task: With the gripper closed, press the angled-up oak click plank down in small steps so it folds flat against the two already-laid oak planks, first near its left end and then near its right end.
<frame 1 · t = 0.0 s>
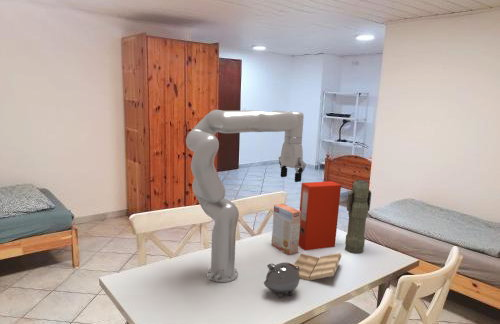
hand: (290, 179, 160), 37 cm above the table, tool pointing down, fingers open, 9 cm apart
file binder: (315, 246, 182), on the table
laid planks: (314, 270, 157), on the table
click plank: (326, 265, 154), point 3 cm above the table, hinge at 25.0°
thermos: (353, 250, 179), on the table
piggy bank: (281, 293, 138), on the table
cracker box: (284, 249, 177), on the table
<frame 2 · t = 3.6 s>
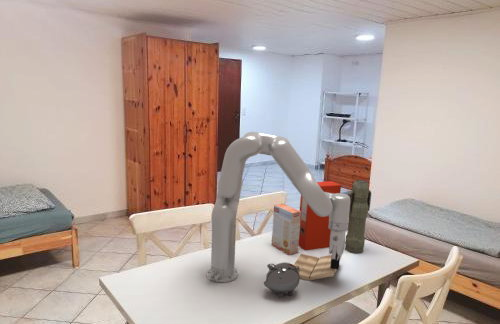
hand: (334, 267, 147), 6 cm above the table, tool pointing down, fingers closed
click plank: (326, 265, 154), point 3 cm above the table, hinge at 24.4°, touching gripper
everything else where it was.
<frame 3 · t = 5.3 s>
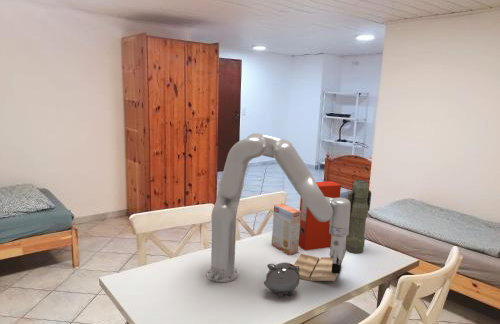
hand: (336, 272, 147), 4 cm above the table, tool pointing down, fingers closed
click plank: (327, 268, 154), point 2 cm above the table, hinge at 13.7°, touching gripper
everything else where it was.
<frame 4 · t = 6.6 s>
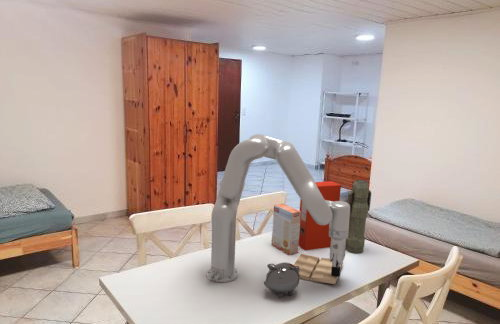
hand: (335, 275, 147), 3 cm above the table, tool pointing down, fingers closed
click plank: (327, 269, 154), point 1 cm above the table, hinge at 6.1°, touching gripper
everything else where it was.
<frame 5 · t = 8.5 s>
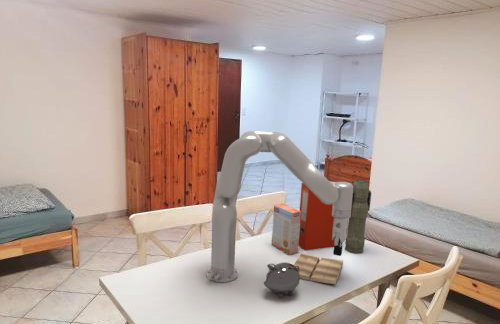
hand: (337, 254, 151), 9 cm above the table, tool pointing down, fingers closed
click plank: (328, 270, 154), point 1 cm above the table, hinge at 5.7°
everything else where it was.
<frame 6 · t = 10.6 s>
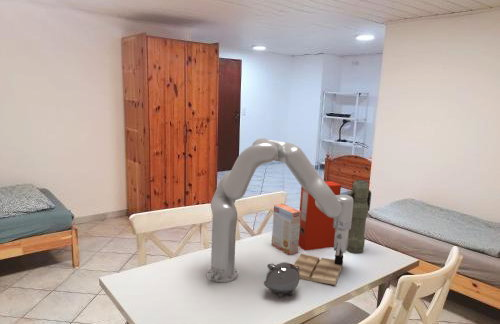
hand: (338, 263, 158), 2 cm above the table, tool pointing down, fingers closed
click plank: (328, 270, 154), point 1 cm above the table, hinge at 4.4°, touching gripper
everything else where it was.
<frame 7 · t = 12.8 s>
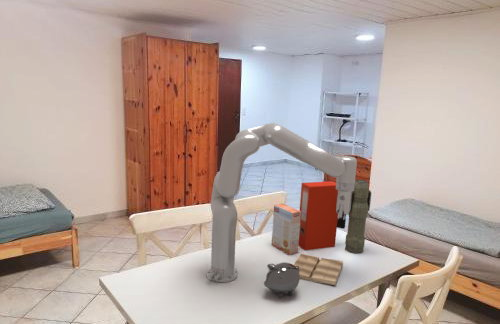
hand: (340, 227, 155), 19 cm above the table, tool pointing down, fingers closed
click plank: (328, 270, 154), point 1 cm above the table, hinge at 3.5°
everything else where it was.
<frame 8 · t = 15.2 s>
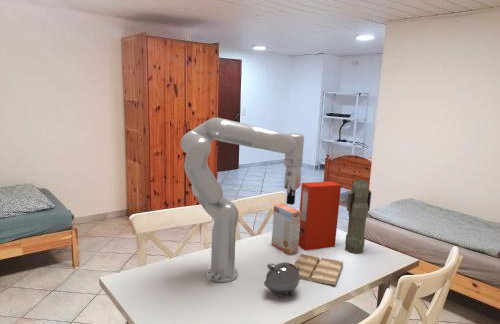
hand: (290, 203, 158), 27 cm above the table, tool pointing down, fingers closed
nothing on the table moved.
at the end: click plank at +4° (first picture: +25°) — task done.
